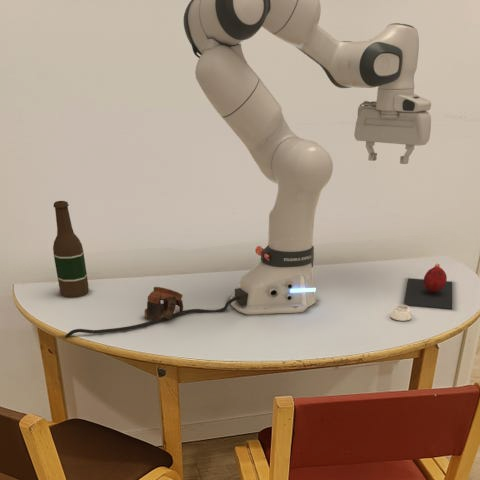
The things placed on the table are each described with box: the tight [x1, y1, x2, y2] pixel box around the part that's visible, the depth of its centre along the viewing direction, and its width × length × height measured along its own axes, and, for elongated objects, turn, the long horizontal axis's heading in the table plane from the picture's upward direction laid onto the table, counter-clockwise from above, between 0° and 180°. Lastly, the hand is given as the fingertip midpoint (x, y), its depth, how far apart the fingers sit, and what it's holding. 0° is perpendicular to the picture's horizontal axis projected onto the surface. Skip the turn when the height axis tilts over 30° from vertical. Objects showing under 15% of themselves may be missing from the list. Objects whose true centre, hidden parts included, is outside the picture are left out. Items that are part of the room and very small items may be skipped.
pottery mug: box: [144, 286, 184, 323], centre depth 148 cm, size 12×10×8 cm
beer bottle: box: [52, 200, 90, 298], centre depth 158 cm, size 8×8×24 cm
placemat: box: [403, 277, 453, 311], centre depth 162 cm, size 22×12×1 cm, turn 163°
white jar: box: [390, 304, 413, 322], centre depth 146 cm, size 5×3×5 cm
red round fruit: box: [423, 263, 448, 293], centre depth 159 cm, size 6×6×8 cm
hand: (387, 162), depth 157 cm, fingers open, 8 cm apart
